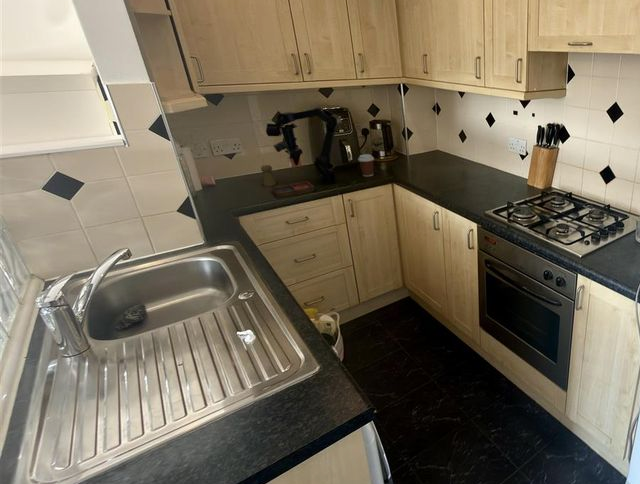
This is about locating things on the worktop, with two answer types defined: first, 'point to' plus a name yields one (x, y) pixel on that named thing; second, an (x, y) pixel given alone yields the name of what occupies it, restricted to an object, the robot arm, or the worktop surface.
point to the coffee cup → (366, 164)
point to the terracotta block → (293, 162)
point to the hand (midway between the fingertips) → (295, 164)
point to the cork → (268, 175)
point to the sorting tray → (293, 189)
